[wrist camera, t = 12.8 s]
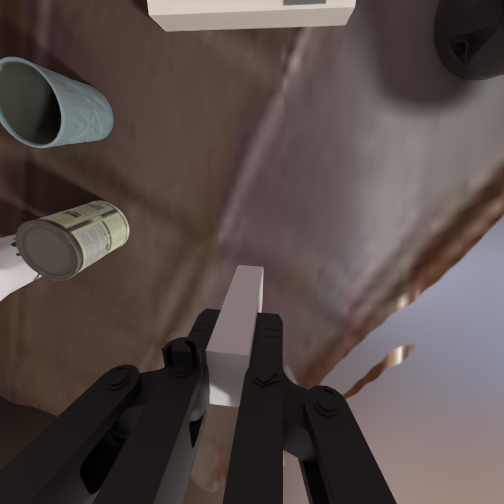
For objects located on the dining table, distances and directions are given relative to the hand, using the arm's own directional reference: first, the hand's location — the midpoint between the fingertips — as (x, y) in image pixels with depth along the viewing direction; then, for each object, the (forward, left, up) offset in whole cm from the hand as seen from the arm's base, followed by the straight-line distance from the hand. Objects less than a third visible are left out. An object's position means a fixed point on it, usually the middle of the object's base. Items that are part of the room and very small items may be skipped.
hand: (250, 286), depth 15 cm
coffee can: (+34, +8, -33) cm, 48 cm away
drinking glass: (+32, -12, -33) cm, 47 cm away
